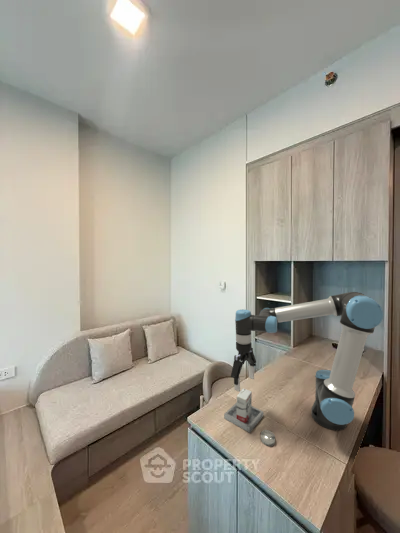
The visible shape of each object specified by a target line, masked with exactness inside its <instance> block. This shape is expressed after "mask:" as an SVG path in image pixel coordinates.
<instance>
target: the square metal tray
mask: <svg viewBox="0 0 400 533" xmlns="http://www.w3.org/2000/svg"><path fill="white" fill-rule="evenodd" d="M223 416H224V420H226V421H228V422H229V423H231V424H233V425H235V426H237V427H238V428H240V429H242V430H243V431H245V432H247V433H249V434H250V433H251V432H252V431H253V430H254V429H255V428H256V426H257V425H258V423H259V422H261V420H262V419H263V417H264V411H263V410H261V409H259V408H257V407H254V406H253V405H251V415H250V416H249V418H248V420H247V422H246V423H243V422H241V421H240V420H238V419H237V401H236V402H235V403H234V404H233V405H232V406H230V408H229V409H228V410H227V411H225V412H224V414H223Z"/></svg>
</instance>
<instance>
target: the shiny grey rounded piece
mask: <svg viewBox="0 0 400 533" xmlns="http://www.w3.org/2000/svg"><path fill="white" fill-rule="evenodd" d="M260 442H261V443H262V444H263V445H265V446H266V447H273V446H275V444H276V435H275V433H274V432H273V431H271V430H269V429H263V430H262V431H260Z"/></svg>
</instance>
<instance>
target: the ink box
mask: <svg viewBox="0 0 400 533" xmlns="http://www.w3.org/2000/svg"><path fill="white" fill-rule="evenodd" d="M252 393H253V392H252V391H251V390H249V389H247V388H242V389H240V392H239V393H238V394H237V395H236V402H237V419H238V420H240V421H241V422H243V423H246V422H247V420H248V418H249V416H250V415H251V406H252V403H253V402H252V396H253V395H252Z"/></svg>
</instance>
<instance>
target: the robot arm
mask: <svg viewBox="0 0 400 533" xmlns="http://www.w3.org/2000/svg"><path fill="white" fill-rule="evenodd" d="M332 315H333V316H334V317H340V320H339V324H340V325H341V327H342V329H341V332H340V335H339V336H340V337H339V340H338V344H337V349H336V351H335V355H334V358H333V362H332V366H331V370H330V369H319V370H316V372H315V376H314V377H315V398H314V399H315V400H314V402H313V404H312V406H311V413H310V414H311V418H312V420H314V422H316V424H319V425H320V426H322V427H324V428H325V429H328V430H331V431H332V430H333V431H342V430H345V429H347V426H348V424H350V423H352V422H353V420H354V419H355V410H354V408H353V404H354V401H355V397H356V392H355V391H354V389H353V387H354V383H355V381H356V376H357V374H358V371H359V366H360V363H361V360H362V355H363V352H364V349H365V345H366V342H367V339H368V338H367V337H368V336H369V335H373V334H374V332H375V328H376V327H378V326H379V325H380V324H381V323H382V322H383V319H384V311H383V309H382V306H381V305H380V304H379V303H378V301H376V300H375V299H374V298H372V297H371V296H370V297H369V296H367V295H365V294H364V293H361V292H358V291H348V292H344V293H338V294H334V295H329V297H328V298H324V299H323V298H322V299H319V300H313V301H308V302H300V303H296V304H291V305H285V306H278V307H274V308H273V307H272V308H269V307H264V308H263V309H261V310H260V312H259V314H252V311H251V310H249V309H245V308H244V309H238V310H236V311H235V319H234V321H235V323H234V324H235V341H236V342H235V349H236V351H237V355H236V354H234V358H233V365H232V368H231V369H232V370H231V374H230V377H231V378H232V379H233V387H234V388H233V389H234V391H237V392H239V393H240V391H241V377H240V375H241V372H242V368H243V365H245V363H246V361H247V362H248V368H247V369H248V378H249V379H252V380H255V368H254V367H256V366H257V364H256V363H257V360H256V356H255V353H254V348H253V345H252V332H258V333H259V332H260V333H269V334H270V333H271V334H273V333H277V332H278V323H283V322H291V321H298V320H304V319H311V318H318V317H319V318H320V317H324V316H325V317H326V316H332Z"/></svg>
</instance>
